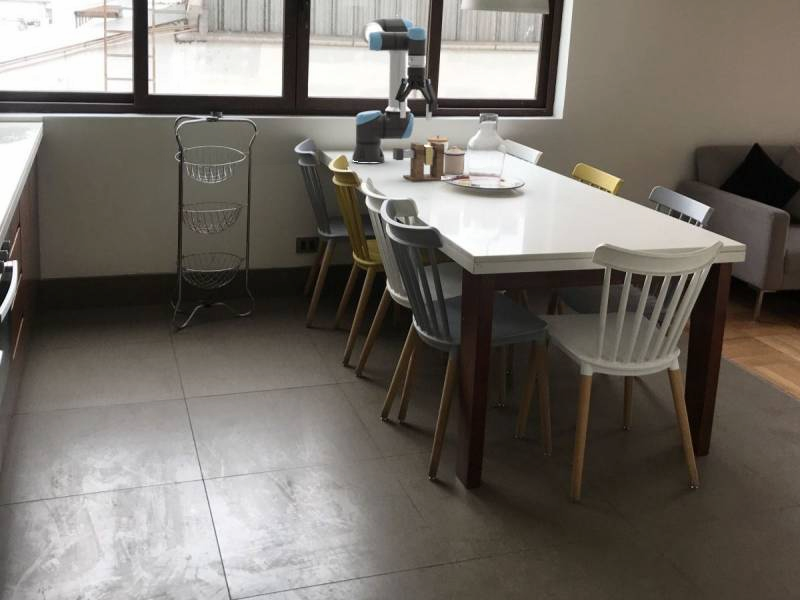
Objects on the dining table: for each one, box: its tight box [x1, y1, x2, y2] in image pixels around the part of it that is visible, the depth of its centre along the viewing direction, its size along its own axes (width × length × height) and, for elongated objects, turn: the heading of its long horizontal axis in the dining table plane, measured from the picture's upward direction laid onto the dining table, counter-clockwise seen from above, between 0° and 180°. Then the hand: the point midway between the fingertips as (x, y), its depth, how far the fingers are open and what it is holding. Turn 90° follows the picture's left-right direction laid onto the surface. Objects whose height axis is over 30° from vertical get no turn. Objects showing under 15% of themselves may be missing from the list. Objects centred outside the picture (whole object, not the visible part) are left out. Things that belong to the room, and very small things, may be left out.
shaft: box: [392, 147, 436, 161], centre depth 399 cm, size 4×20×4 cm, turn 110°
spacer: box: [423, 144, 433, 166], centre depth 400 cm, size 7×3×8 cm, turn 20°
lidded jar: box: [426, 134, 450, 153], centre depth 473 cm, size 11×11×9 cm
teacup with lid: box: [444, 145, 466, 175], centre depth 419 cm, size 12×9×12 cm
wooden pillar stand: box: [402, 141, 446, 183], centre depth 401 cm, size 12×17×15 cm
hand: (415, 119), depth 396 cm, fingers open, 13 cm apart
